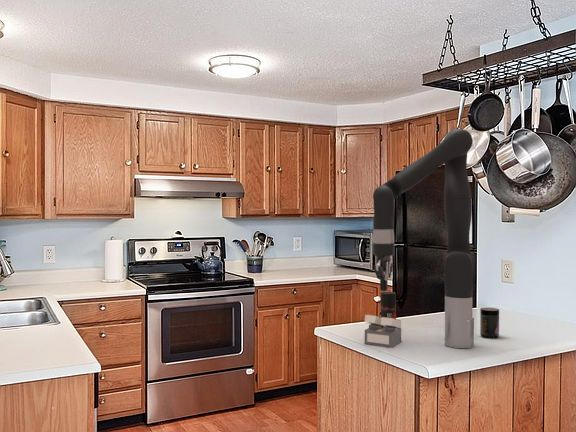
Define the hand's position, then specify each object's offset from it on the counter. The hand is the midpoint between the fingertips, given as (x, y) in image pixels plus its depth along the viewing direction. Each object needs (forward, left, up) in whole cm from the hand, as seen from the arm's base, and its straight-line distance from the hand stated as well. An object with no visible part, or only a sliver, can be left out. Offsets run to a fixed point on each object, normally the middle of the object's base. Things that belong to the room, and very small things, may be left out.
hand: (383, 290), depth 191 cm
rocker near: (-3, 0, -12) cm, 13 cm away
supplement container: (-31, -29, -19) cm, 46 cm away
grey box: (0, 0, -19) cm, 19 cm away
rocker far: (+3, 0, -12) cm, 13 cm away
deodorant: (+5, -19, -19) cm, 27 cm away
